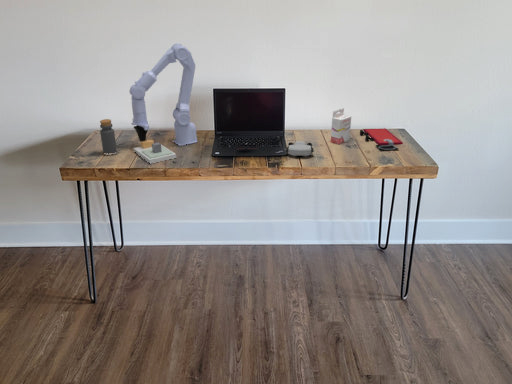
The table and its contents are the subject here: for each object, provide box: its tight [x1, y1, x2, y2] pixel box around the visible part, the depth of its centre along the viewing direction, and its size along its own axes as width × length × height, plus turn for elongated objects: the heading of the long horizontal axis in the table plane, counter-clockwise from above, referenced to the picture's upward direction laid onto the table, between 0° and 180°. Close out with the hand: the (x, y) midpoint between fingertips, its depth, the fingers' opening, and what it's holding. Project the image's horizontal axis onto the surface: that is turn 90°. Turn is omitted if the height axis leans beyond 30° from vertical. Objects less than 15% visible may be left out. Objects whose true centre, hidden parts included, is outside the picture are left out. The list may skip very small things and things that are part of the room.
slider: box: [140, 139, 155, 148], centre depth 216 cm, size 3×5×2 cm, turn 124°
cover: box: [142, 141, 173, 159], centre depth 208 cm, size 10×10×4 cm
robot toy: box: [284, 140, 315, 157], centre depth 212 cm, size 12×4×15 cm
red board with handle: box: [359, 127, 404, 151], centre depth 227 cm, size 30×3×15 cm
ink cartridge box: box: [330, 107, 352, 145], centre depth 224 cm, size 9×5×15 cm, turn 135°
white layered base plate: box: [132, 144, 177, 165], centre depth 212 cm, size 18×12×2 cm, turn 34°
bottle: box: [99, 118, 118, 154], centre depth 212 cm, size 6×6×15 cm
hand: (142, 141), depth 221 cm, fingers closed
